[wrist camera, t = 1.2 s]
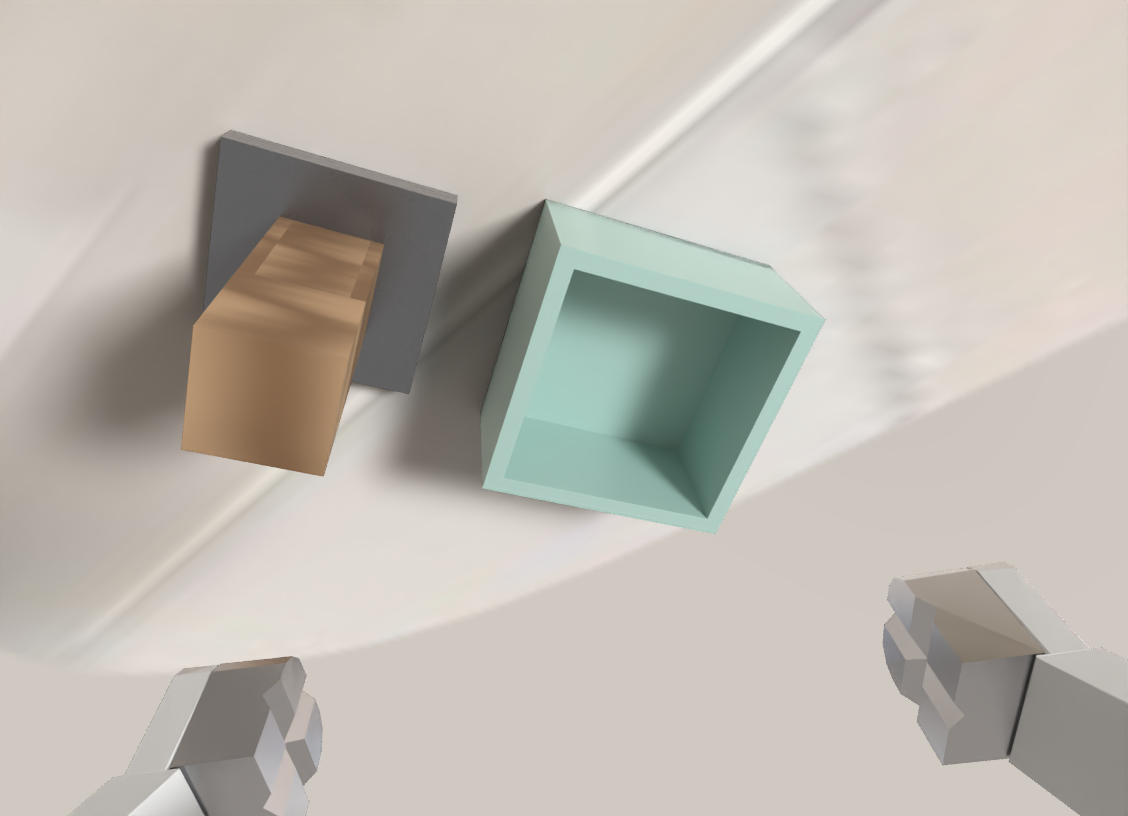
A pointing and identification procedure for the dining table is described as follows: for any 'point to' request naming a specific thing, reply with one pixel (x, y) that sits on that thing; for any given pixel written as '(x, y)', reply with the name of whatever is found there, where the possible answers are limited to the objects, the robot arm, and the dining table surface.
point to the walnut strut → (281, 349)
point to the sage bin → (638, 371)
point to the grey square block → (346, 205)
